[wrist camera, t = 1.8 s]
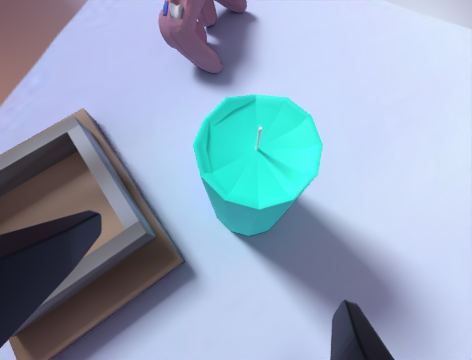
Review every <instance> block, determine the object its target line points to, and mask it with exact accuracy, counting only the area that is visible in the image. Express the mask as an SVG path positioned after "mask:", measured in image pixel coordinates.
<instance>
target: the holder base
mask: <svg viewBox="0 0 472 360" xmlns="http://www.w3.org/2000/svg"><path fill="white" fill-rule="evenodd" d="M87 210H93V211H96V212H98V213H100V214H101V216H102V232H101V235H100V236H99V238H98V239H97V240H96V242H95V243H94V244H93V246H92V247H91V248H90V249H89V251H88V252H87V253H86V255H85V256H84V257H83V259H82V260H81V261H80V262H79V264H78V265H77V266H76V267H75V269H74V270H73V271H72V272H71V273H70V274H69V276H68V277H67V278H66V279H65V280H64V281H63V282H62V283H61V284H60V285H59V286H58V287H57V288H56V289H55V290H54V292H53V293H52V294H51V295H50V296H49V297H48V298H47V299H46V300H45V301H44V302H43V303H42V304H41V305H40V306H39V308H38V309H37V310H36V311H35V312H34V313H33V314H32V315H31V316H30V317H29V318H28V319H27V320H26V321H25V322H24V324H23V325H22V326H21V327H20V328H19V329H18V330H17V331H16V332H15V333H14V334H13V335H12V336H11V337H10V338H9V342H10V344H11V347H12V349H13V351H14V354H15V356H16V359H17V360H52V359H53V358H54V357H56V356H57V355H58V354H60V353H61V352H63V351H64V350H65V349H67V348H68V347H69V346H71V345H72V344H73V343H75V342H76V341H77V340H79V339H80V338H82V337H83V336H84V335H86V334H87V333H88V332H90V331H91V330H92V329H94V328H95V327H96V326H98V325H99V324H101V323H102V322H103V321H105V320H106V319H107V318H109V317H110V316H111V315H113V314H114V313H115V312H117V311H118V310H120V309H121V308H122V307H124V306H125V305H126V304H128V303H129V302H130V301H132V300H133V299H134V298H136V297H137V296H139V295H140V294H141V293H143V292H144V291H145V290H147V289H148V288H149V287H151V286H152V285H153V284H155V283H156V282H158V281H159V280H160V279H162V278H163V277H164V276H166V275H167V274H168V273H170V272H171V271H172V270H174V269H175V268H177V267H178V266H179V265H181V264H182V263H183V262H185V261H184V259H183V258H182V256H181V255H180V253H179V252H178V250H177V249H176V247H175V245H174V244H173V242H172V241H171V239H170V238H169V236H168V235H167V233H166V231H165V230H164V228H163V227H162V225H161V224H160V222H159V221H158V219H157V217H156V216H155V214H154V213H153V211H152V210H151V208H150V207H149V205H148V203H147V202H146V200H145V199H144V197H143V196H142V194H141V193H140V191H139V189H138V188H137V186H136V185H135V183H134V182H133V180H132V179H131V177H130V175H129V174H128V172H127V171H126V169H125V168H124V166H123V165H122V163H121V161H120V160H119V158H118V157H117V155H116V154H115V152H114V151H113V149H112V147H111V146H110V144H109V143H108V141H107V140H106V138H105V137H104V135H103V133H102V132H101V130H100V129H99V127H98V126H97V124H96V123H95V121H94V120H93V118H92V117H91V116H90V115H89V114H88V113H87V112H86V111H85V109H84V108H82V109H81V110H79V111H77V112H75V113H74V114H72V115H70V116H68V117H67V118H65V119H63V120H61V121H59V122H58V123H56V124H54V125H52V126H51V127H49V128H47V129H45V130H43V131H42V132H40V133H38V134H36V135H35V136H33V137H31V138H29V139H28V140H26V141H24V142H22V143H20V144H19V145H17V146H15V147H13V148H12V149H10V150H8V151H6V152H4V153H3V154H1V155H0V235H1V234H4V233H8V232H11V231H15V230H19V229H22V228H26V227H29V226H33V225H37V224H40V223H44V222H47V221H51V220H55V219H58V218H62V217H65V216H69V215H72V214H76V213H80V212H83V211H87Z"/></svg>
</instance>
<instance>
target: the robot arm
mask: <svg viewBox="0 0 472 360" xmlns="http://www.w3.org/2000/svg"><path fill="white" fill-rule="evenodd" d="M101 232H102V216H101V214H100V213H98V212H96V211H93V210H87V211H83V212H80V213H76V214H72V215H69V216H65V217H62V218H58V219H55V220H51V221H47V222H44V223H40V224H37V225H33V226H29V227H26V228H22V229H19V230H15V231H11V232H8V233H4V234H1V235H0V348H1V347H2V346H3V345H4V344H5V343H6V342H7V341H8V339H9V338H10V337H11V336H12V335H13V334H14V333H15V332H16V331H17V330H18V329H19V328H20V327H21V326H22V325H23V324H24V322H25V321H26V320H27V319H28V318H29V317H30V316H31V315H32V314H33V313H34V312H35V311H36V310H37V309H38V308H39V306H40V305H41V304H42V303H43V302H44V301H45V300H46V299H47V298H48V297H49V296H50V295H51V294H52V293H53V292H54V290H55V289H56V288H57V287H58V286H59V285H60V284H61V283H62V282H63V281H64V280H65V279H66V278H67V277H68V276H69V274H70V273H71V272H72V271H73V270H74V269H75V267H76V266H77V265H78V264H79V262H80V261H81V260H82V259H83V257H84V256H85V255H86V253H87V252H88V251H89V249H90V248H91V247H92V246H93V244H94V243H95V242H96V240H97V239H98V238H99V236H100V235H101ZM330 360H394V358H393V357H392V355H391V354H390V352H389V351H388V349H387V348H386V346H385V345H384V343H383V342H382V340H381V339H380V337H379V336H378V334H377V333H376V331H375V330H374V328H373V327H372V325H371V324H370V322H369V321H368V320H367V318H366V317H365V315H364V314H363V312H362V311H361V309H360V308H359V306H358V305H357V304H356V303H353V302H350V301H347V300H344V301H342V303H341V304H340V306H339V307H338V309H337V311H336V312H335V314H334V316H333V320H332V336H331V357H330Z"/></svg>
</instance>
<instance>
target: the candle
mask: <svg viewBox="0 0 472 360" xmlns="http://www.w3.org/2000/svg"><path fill="white" fill-rule="evenodd" d="M322 145H323V144H322V142H321V139H320V137H319V134H318V132H317V129H316V126H315V124H314V121H313V119H312V116H311V115H310V114H308V113H307V112H306V111H304V110H303V109H302V108H300V107H299V106H298V105H296V104H295V103H294V102H292V101H291V100H290V99H288V98H287V97H278V96H265V95H247V96H237V97H226V98H225V99H224V100H223V101H222V102H221V103H220V104H219V105H218V106H217V107H216V108H215V109H214V110H213V111H212V112H211V113H210V114H209V115H208V116H207V117H206V118H205V119H204V120H203V122H202V125H201V127H200V129H199V132H198V134H197V136H196V139H195V141H194V143H193V147H194V151H195V155H196V160H197V164H198V168H199V172H200V176H201V179H202V181H203V183H204V186H205V188H206V191H207V193H208V196H209V198H210V201H211V203H212V206H213V208H214V211H215V213H216V216H217V218H218V219H219V220H220V221H221V222H222V223H223V224H224V225H225V226H226V227H227V228H228V229H229V230H230V231H232V232H236V233H240V234H243V235H247V236H251V235H255V234H258V233H262V232H266V231H268V230H269V229H270V228H271V227H272V226H273V225H274V224H275V223H276V222H277V221H278V220H279V219H280V217H281V216H282V215H283V214H284V213H285V212H286V211H287V209H288V208H289V207H290V206H291V205H292V204H293V202H294V201H295V200H296V199H297V198H298V197H299V195H300V194H301V193H302V192H303V191H304V190H305V189H306V187H307V186H308V185H309V184H310V183H311V182H312V180H313V179H314V178H315V177H316V176H317V175H318V171H319V165H320V158H321V152H322Z"/></svg>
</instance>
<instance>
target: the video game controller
mask: <svg viewBox="0 0 472 360" xmlns="http://www.w3.org/2000/svg"><path fill="white" fill-rule="evenodd" d="M215 1H217V2H218V3H220V4H221V5H223V6H224V7H226V8H227V9H229V10H232V11H234V12H238V13H242V12H244V11H245V9H246V7H247V2H246V0H215ZM197 19H198V21H199V22H198V21H197ZM216 19H217V14H216V9H215V6H214V1H213V0H165V3H164V7H163V9H162V10H161V12H160V14H159V28H160V32H161V34H162V36H163V38H164V40H165V41H166V42H167V44H168V45H169V46H171V47H173V48H175V49H177V50H178V51H179V52H180V53H181V54H182V55H184V56H185V57H186V58H187V59H188V60H190V61H191V62H192V63H193V64H195V65H196V66H198V67H199V68H201V69H203V70H205V71H207V72H210V73H216V74H217V73H219V72H220V71H221V70H222V62H221V60H220V59H219V57H218V56H217V54H216V53H215V52H214V51H213V50H212V49H211V48H210V47H208V46H207V45H206V42H207V35H206V31H205V29H204V27H206V26H210V25H213V24H214V23H215V22H216ZM203 26H204V27H203Z"/></svg>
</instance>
